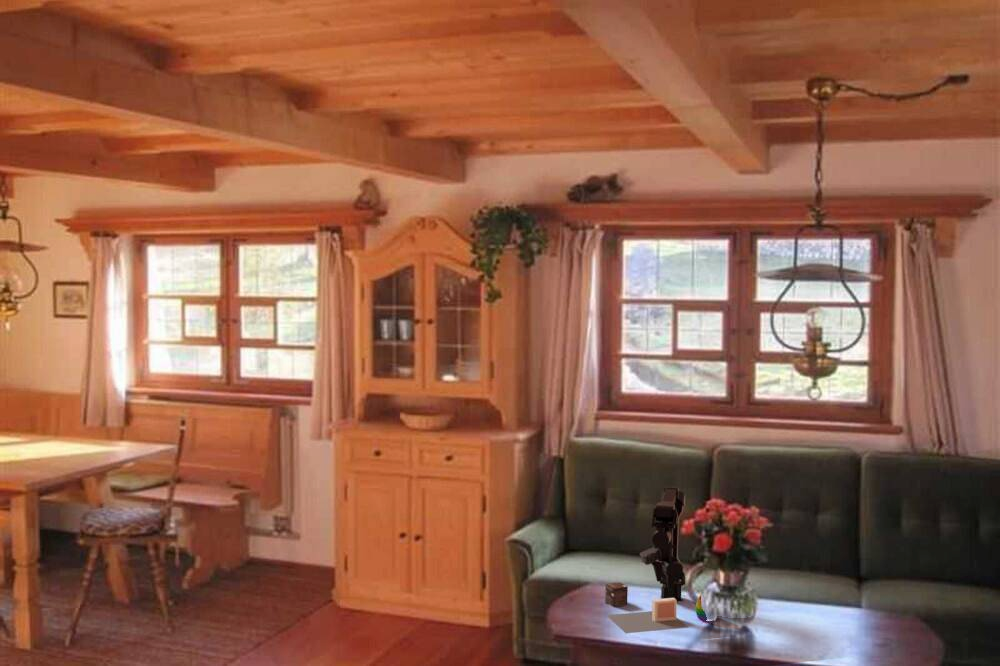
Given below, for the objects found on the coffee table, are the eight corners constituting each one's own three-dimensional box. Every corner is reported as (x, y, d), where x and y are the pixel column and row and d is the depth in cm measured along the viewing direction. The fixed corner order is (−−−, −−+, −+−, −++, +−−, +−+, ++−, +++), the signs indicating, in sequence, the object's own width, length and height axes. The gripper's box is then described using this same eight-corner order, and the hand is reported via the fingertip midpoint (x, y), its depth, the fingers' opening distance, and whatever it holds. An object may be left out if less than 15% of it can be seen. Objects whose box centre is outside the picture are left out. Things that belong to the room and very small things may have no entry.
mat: (666, 610, 346) (666, 609, 346) (688, 628, 329) (688, 627, 329) (606, 616, 341) (606, 615, 341) (625, 634, 323) (625, 633, 323)
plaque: (673, 617, 339) (673, 597, 338) (676, 619, 336) (676, 600, 336) (652, 619, 337) (652, 599, 336) (655, 621, 334) (655, 602, 334)
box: (604, 603, 355) (605, 583, 354) (618, 601, 357) (619, 581, 357) (613, 608, 349) (613, 588, 349) (627, 606, 352) (628, 586, 351)
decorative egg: (697, 614, 342) (697, 587, 342) (720, 617, 340) (721, 589, 339) (694, 622, 335) (694, 594, 334) (717, 625, 332) (718, 596, 331)
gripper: (632, 535, 342) (632, 579, 343) (653, 549, 324) (653, 595, 325) (661, 533, 345) (661, 576, 346) (684, 547, 327) (683, 593, 328)
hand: (663, 585), depth 336 cm, fingers open, 9 cm apart
